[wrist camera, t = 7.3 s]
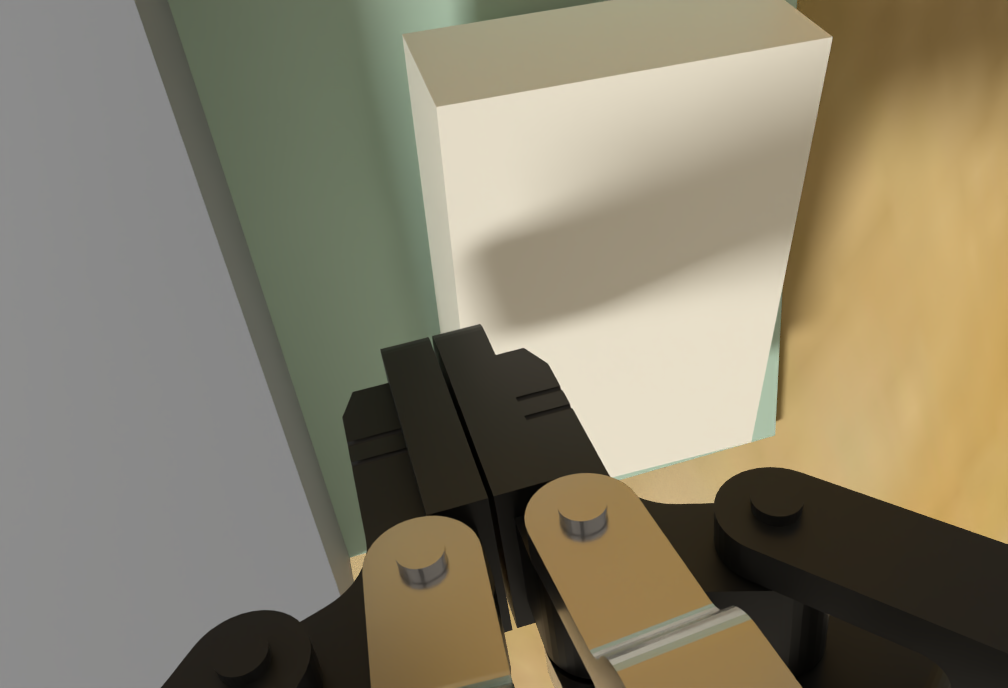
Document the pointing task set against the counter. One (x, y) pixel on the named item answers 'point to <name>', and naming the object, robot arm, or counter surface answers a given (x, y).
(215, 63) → the mat
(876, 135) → the counter surface
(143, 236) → the block
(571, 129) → the cream rectangular slab
